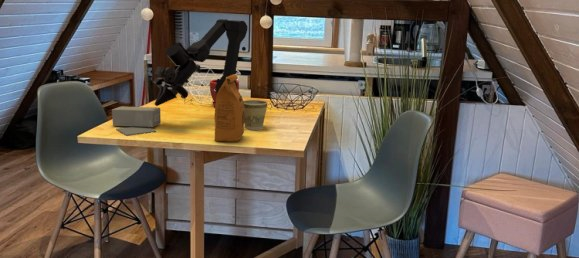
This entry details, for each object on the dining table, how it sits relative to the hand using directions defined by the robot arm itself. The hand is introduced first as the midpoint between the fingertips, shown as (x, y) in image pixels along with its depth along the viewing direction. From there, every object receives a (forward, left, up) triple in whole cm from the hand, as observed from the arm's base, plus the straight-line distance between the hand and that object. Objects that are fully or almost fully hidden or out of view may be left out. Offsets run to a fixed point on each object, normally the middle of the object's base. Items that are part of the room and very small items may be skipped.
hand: (155, 105), depth 189 cm
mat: (+4, +6, -9) cm, 12 cm away
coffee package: (-31, +3, -9) cm, 32 cm away
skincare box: (+1, -2, -5) cm, 6 cm away
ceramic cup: (-33, -17, -9) cm, 38 cm away
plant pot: (-5, -50, -9) cm, 51 cm away
